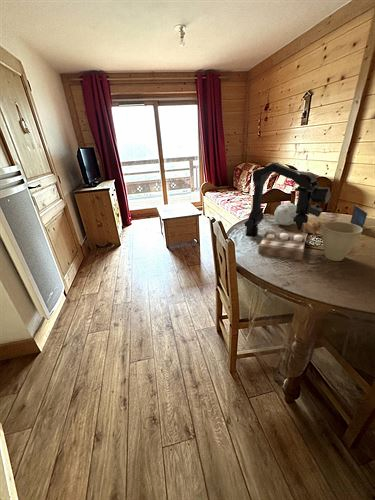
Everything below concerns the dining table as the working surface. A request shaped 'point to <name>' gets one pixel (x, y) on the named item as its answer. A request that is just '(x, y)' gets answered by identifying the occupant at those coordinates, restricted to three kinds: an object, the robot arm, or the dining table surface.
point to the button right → (298, 238)
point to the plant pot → (339, 239)
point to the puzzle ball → (285, 213)
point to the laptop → (358, 217)
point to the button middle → (284, 236)
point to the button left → (270, 236)
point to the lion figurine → (313, 227)
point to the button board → (282, 246)
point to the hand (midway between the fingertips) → (299, 230)
